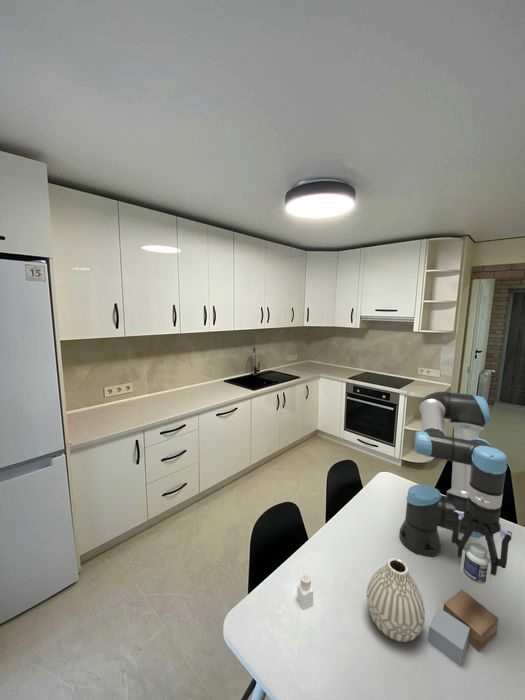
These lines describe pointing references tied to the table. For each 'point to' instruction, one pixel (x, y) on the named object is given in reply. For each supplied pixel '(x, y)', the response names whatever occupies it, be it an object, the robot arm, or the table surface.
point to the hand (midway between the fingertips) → (475, 574)
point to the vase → (395, 602)
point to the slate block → (449, 635)
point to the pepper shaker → (305, 592)
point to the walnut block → (473, 618)
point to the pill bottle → (476, 563)
